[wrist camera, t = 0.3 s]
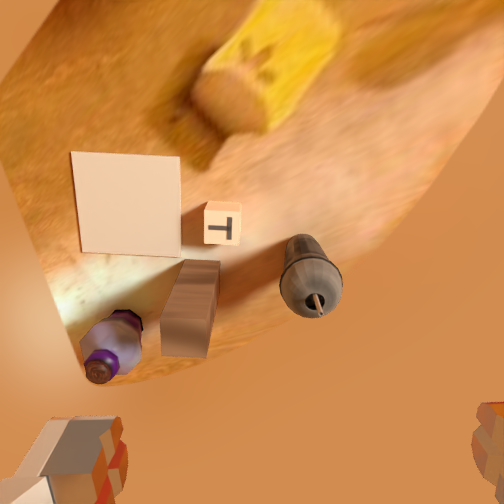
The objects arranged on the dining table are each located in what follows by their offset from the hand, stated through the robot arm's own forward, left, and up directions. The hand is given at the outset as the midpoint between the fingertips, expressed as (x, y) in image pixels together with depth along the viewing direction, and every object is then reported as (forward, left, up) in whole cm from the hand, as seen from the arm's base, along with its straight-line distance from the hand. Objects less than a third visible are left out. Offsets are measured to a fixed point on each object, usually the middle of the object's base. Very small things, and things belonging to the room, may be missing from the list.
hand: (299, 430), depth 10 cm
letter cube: (+10, -5, -48) cm, 49 cm away
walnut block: (+19, -8, -47) cm, 52 cm away
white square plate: (+9, -18, -47) cm, 52 cm away
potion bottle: (+28, -20, -48) cm, 59 cm away
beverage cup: (+14, +6, -48) cm, 50 cm away
